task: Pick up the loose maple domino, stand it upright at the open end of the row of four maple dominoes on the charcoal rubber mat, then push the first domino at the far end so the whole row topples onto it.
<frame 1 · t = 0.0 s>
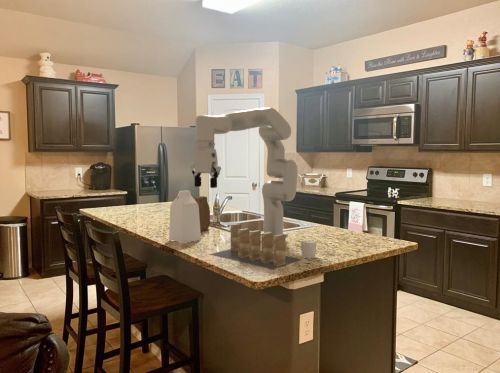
hand: (205, 187, 170), 31 cm above the table, tool pointing down, fingers open, 9 cm apart
milk: (185, 240, 215), on the table
end domino: (235, 249, 190), point 1 cm above the table, touching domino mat
shot glass: (308, 258, 178), on the table
domino 2: (267, 261, 169), point 1 cm above the table, touching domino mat
domino 1: (279, 264, 164), point 1 cm above the table, touching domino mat
domino 3: (255, 259, 173), point 1 cm above the table, touching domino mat
domino 4: (243, 256, 177), point 1 cm above the table, touching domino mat
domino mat: (254, 258, 177), on the table
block: (201, 230, 244), on the table
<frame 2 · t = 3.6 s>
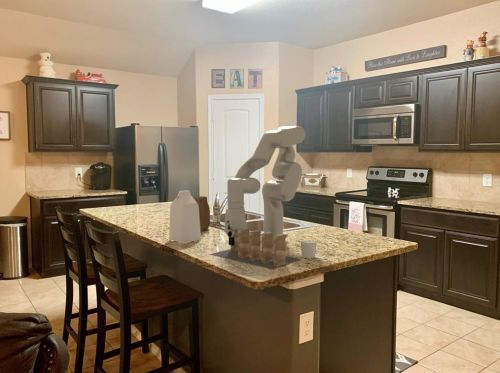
hand: (235, 243, 190), 3 cm above the table, tool pointing down, fingers closed on end domino, 4 cm apart
end domino: (235, 249, 190), point 1 cm above the table, touching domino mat, gripper
everything else where it was.
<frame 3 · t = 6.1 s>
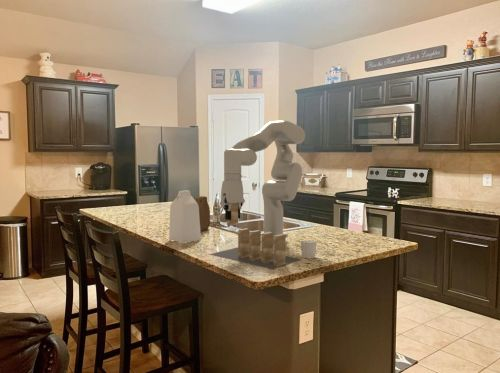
hand: (232, 218, 180), 17 cm above the table, tool pointing down, fingers closed on end domino, 4 cm apart
end domino: (232, 224, 181), point 14 cm above the table, touching gripper
everything else where it was.
when the fingers open (4 cm above the table, at t = 9.1 s): end domino stays where it is, resting on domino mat.
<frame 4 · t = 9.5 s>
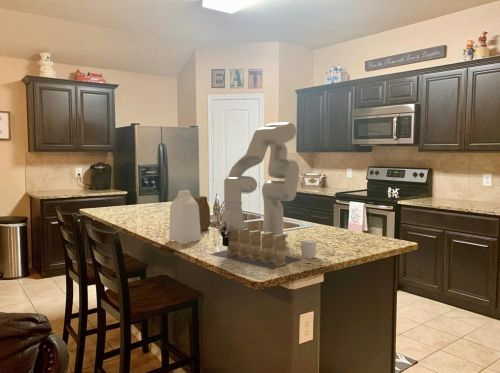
hand: (233, 244, 181), 5 cm above the table, tool pointing down, fingers open, 9 cm apart
end domino: (233, 254, 182), point 1 cm above the table, touching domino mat
everything else where it was.
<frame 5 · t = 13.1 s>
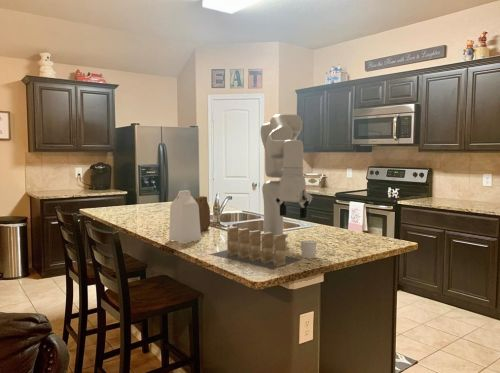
hand: (292, 216, 158), 21 cm above the table, tool pointing down, fingers open, 9 cm apart
nothing on the table moved.
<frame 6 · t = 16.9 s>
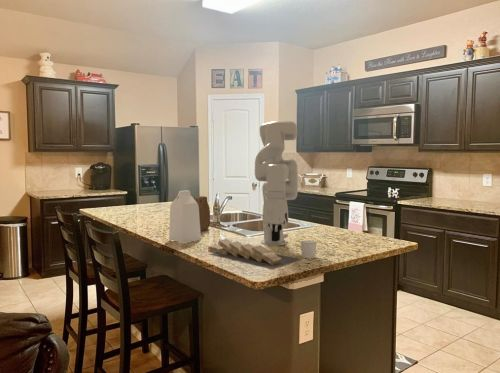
hand: (275, 240, 165), 10 cm above the table, tool pointing down, fingers closed
end domino: (230, 251, 183), point 2 cm above the table, tilted 90°, touching domino 4, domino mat
domino 2: (265, 259, 169), point 2 cm above the table, tilted 73°, touching domino 1, domino 3, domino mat
domino 1: (277, 261, 165), point 2 cm above the table, tilted 71°, touching domino 2, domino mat
domino 3: (252, 256, 174), point 2 cm above the table, tilted 72°, touching domino 2, domino 4, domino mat
domino 4: (240, 253, 179), point 2 cm above the table, tilted 71°, touching domino 3, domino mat, end domino
everything else where it was.
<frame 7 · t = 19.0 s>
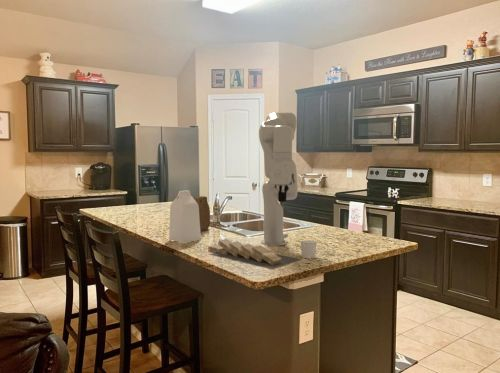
hand: (282, 201, 168), 26 cm above the table, tool pointing down, fingers closed
nothing on the table moved.
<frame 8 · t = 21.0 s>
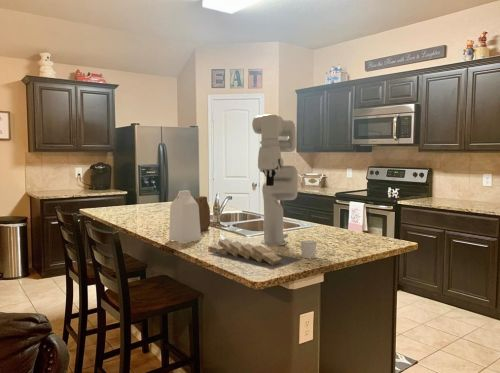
hand: (269, 185, 180), 31 cm above the table, tool pointing down, fingers closed
nothing on the table moved.
at the end: end domino tilted 90°; domino 3 tilted 72°; end domino inside the target area (0.4 cm from its centre), point 1.6 cm above the table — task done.
